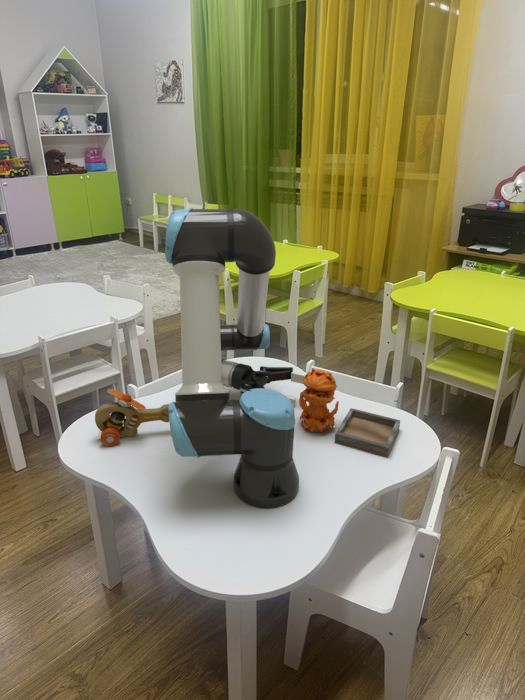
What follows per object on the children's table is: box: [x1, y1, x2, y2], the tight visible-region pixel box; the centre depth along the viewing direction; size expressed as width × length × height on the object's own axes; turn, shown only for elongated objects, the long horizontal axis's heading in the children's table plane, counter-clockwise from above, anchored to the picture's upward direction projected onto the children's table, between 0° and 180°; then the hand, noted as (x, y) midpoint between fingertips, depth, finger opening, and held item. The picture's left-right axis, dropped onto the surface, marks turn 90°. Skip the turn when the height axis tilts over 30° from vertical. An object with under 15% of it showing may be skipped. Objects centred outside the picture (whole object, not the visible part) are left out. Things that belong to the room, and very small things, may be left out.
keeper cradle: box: [334, 407, 401, 459], centre depth 128 cm, size 14×14×3 cm
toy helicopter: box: [94, 388, 170, 447], centre depth 125 cm, size 8×21×14 cm, turn 103°
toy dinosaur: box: [298, 367, 340, 433], centre depth 129 cm, size 11×11×18 cm
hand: (304, 391), depth 131 cm, fingers open, 13 cm apart
